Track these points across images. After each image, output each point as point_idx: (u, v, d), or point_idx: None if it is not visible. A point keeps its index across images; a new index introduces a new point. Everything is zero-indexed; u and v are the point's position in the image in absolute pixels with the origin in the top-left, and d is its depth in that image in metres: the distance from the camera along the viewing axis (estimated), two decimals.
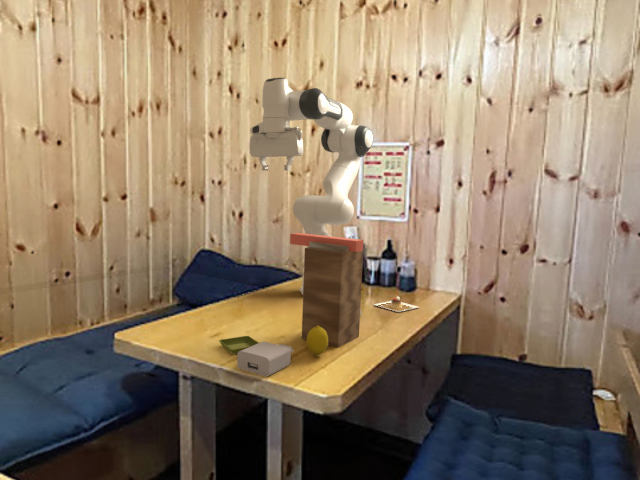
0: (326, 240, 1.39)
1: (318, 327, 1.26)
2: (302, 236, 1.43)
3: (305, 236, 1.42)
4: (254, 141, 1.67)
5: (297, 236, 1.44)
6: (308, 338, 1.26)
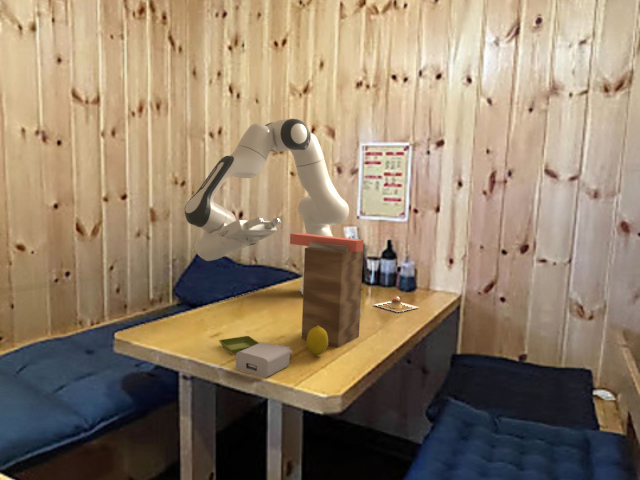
0: (326, 240, 1.39)
1: (318, 327, 1.26)
2: (302, 236, 1.43)
3: (305, 236, 1.42)
4: (262, 236, 1.63)
5: (297, 236, 1.44)
6: (308, 338, 1.26)
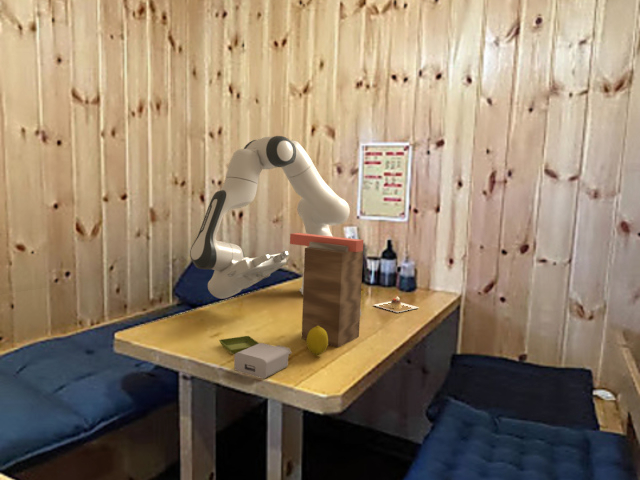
0: (326, 240, 1.39)
1: (318, 327, 1.26)
2: (302, 236, 1.43)
3: (305, 236, 1.42)
4: (273, 269, 1.62)
5: (297, 236, 1.44)
6: (308, 338, 1.26)
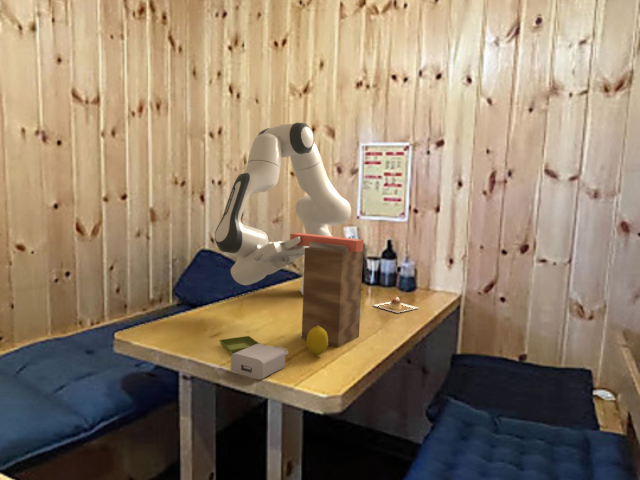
0: (326, 240, 1.39)
1: (318, 327, 1.26)
2: (302, 236, 1.43)
3: (305, 236, 1.42)
4: (299, 254, 1.56)
5: (297, 236, 1.44)
6: (308, 338, 1.26)
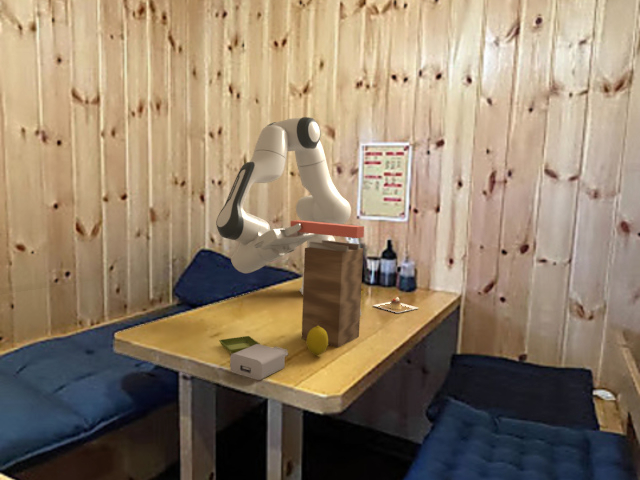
0: (327, 227, 1.38)
1: (318, 327, 1.26)
2: (302, 223, 1.42)
3: (305, 223, 1.42)
4: (300, 242, 1.55)
5: (297, 223, 1.43)
6: (308, 338, 1.26)
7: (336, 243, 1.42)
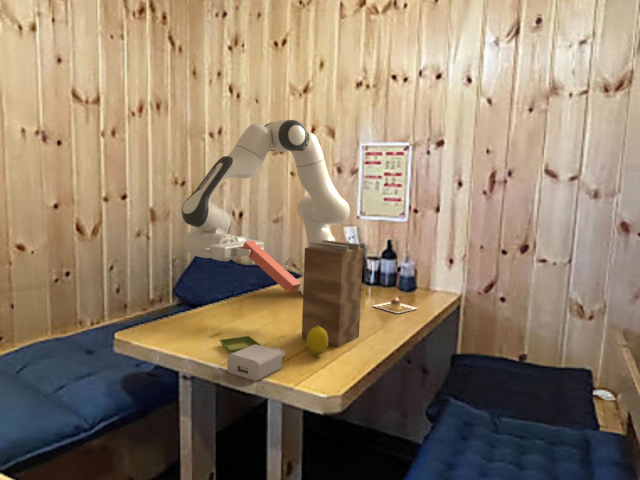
0: (270, 268, 1.50)
1: (318, 327, 1.26)
2: (253, 251, 1.53)
3: (255, 252, 1.53)
4: None
5: (249, 247, 1.54)
6: (308, 338, 1.26)
7: (336, 243, 1.42)
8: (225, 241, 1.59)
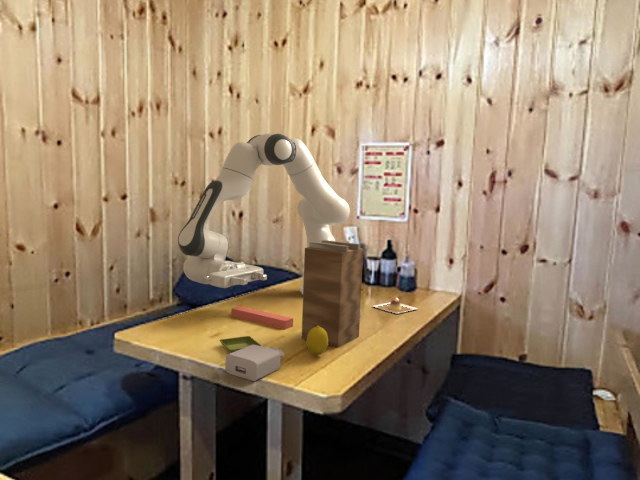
0: (261, 317, 1.54)
1: (318, 327, 1.26)
2: (241, 311, 1.59)
3: (243, 312, 1.58)
4: None
5: (237, 311, 1.60)
6: (308, 338, 1.26)
7: (336, 243, 1.42)
8: (225, 268, 1.60)
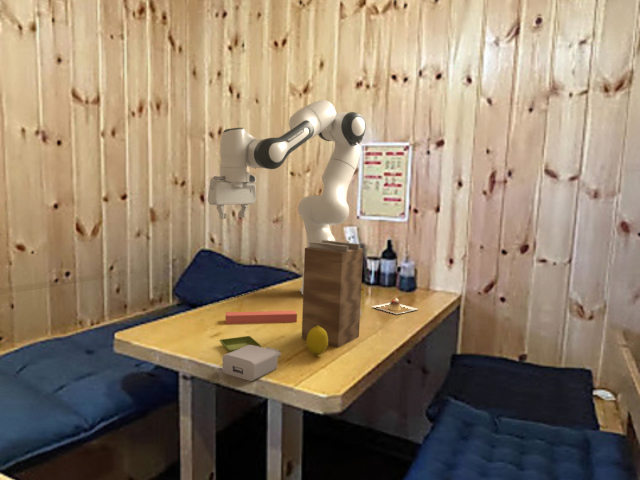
0: (267, 317, 1.55)
1: (318, 327, 1.26)
2: (240, 316, 1.53)
3: (244, 316, 1.53)
4: None
5: (234, 317, 1.53)
6: (308, 338, 1.26)
7: (336, 243, 1.42)
8: (234, 184, 1.63)
